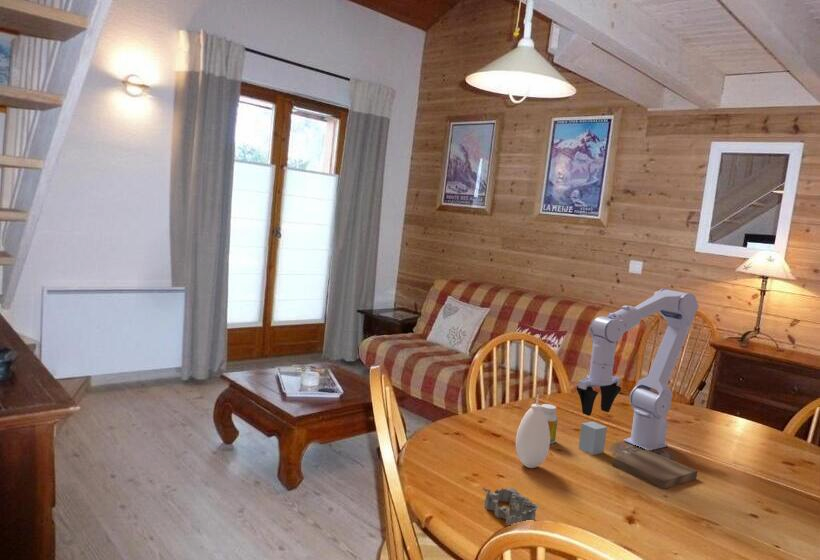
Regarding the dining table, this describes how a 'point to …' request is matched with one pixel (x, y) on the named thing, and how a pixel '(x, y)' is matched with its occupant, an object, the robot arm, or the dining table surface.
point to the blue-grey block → (592, 438)
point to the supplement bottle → (551, 420)
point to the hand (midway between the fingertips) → (595, 412)
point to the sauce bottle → (533, 437)
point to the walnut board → (654, 469)
